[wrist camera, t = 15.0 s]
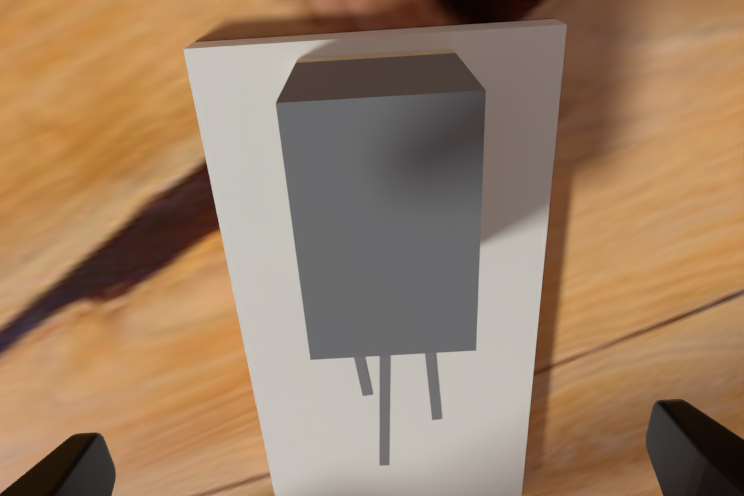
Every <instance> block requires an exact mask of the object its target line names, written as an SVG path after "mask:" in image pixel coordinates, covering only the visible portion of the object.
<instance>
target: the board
mask: <svg viewBox="0 0 744 496" xmlns="http://www.w3.org/2000/svg"><path fill="white" fill-rule="evenodd" d="M566 31H567V24H565V23H563V22H561V21H558V20H556V19H545V20H530V21H514V22H498V23H483V24H467V25H452V26H436V27H421V28H405V29H390V30H374V31H358V32H343V33H327V34H312V35H296V36H281V37H265V38H250V39H234V40H218V41H203V42H193V43H192V44H190V45H189V46H187V47H186V48H184V49H183V50H184V55H185V60H186V64H187V69H188V74H189V79H190V84H191V89H192V94H193V99H194V103H195V108H196V113H197V118H198V123H199V128H200V133H201V138H202V143H203V147H204V152H205V157H206V162H207V167H208V172H209V177H210V182H211V186H212V191H213V196H214V201H215V206H216V211H217V216H218V221H219V225H220V230H221V235H222V240H223V245H224V250H225V255H226V260H227V264H228V269H229V274H230V279H231V284H232V289H233V294H234V299H235V303H236V308H237V313H238V318H239V323H240V328H241V333H242V338H243V343H244V347H245V352H246V357H247V362H248V367H249V372H250V377H251V382H252V386H253V391H254V396H255V401H256V406H257V411H258V416H259V421H260V425H261V430H262V435H263V440H264V445H265V450H266V455H267V460H268V464H269V469H270V474H271V479H272V484H273V489H274V494H275V496H522V486H523V476H524V466H525V455H526V445H527V435H528V424H529V414H530V404H531V393H532V383H533V373H534V362H535V352H536V341H537V331H538V321H539V310H540V300H541V290H542V279H543V269H544V259H545V248H546V238H547V228H548V217H549V207H550V196H551V186H552V176H553V165H554V155H555V145H556V134H557V124H558V114H559V103H560V93H561V82H562V72H563V62H564V51H565V41H566ZM448 49H453V50H454V51H455V53H456V54H457V55H458V56H459V58H460V59H461V60H462V61H463V63H464V64H465V65H466V66H467V68H468V69H469V70H470V71H471V73H472V74H473V75H474V76H475V78H476V79H477V80H478V81H479V83H480V84H481V85H482V86H483V88H484V89H485V90H486V99H485V126H484V153H483V180H482V206H481V233H480V260H479V287H478V313H477V340H476V351H459V352H441V353H423V354H406V355H388V356H370V357H352V358H334V359H316V360H310V353H309V345H308V338H307V331H306V323H305V316H304V309H303V301H302V294H301V287H300V279H299V272H298V264H297V257H296V250H295V242H294V235H293V228H292V220H291V213H290V206H289V198H288V191H287V183H286V176H285V169H284V161H283V154H282V147H281V139H280V132H279V125H278V117H277V110H276V101H277V99H278V97H279V95H280V93H281V91H282V89H283V87H284V85H285V83H286V81H287V79H288V77H289V75H290V73H291V71H292V69H293V67H294V65H295V63H296V61H297V59H302V58H318V57H334V56H350V55H367V54H383V53H399V52H415V51H432V50H448Z"/></svg>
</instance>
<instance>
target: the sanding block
mask: <svg viewBox="0 0 744 496" xmlns="http://www.w3.org/2000/svg"><path fill="white" fill-rule="evenodd" d="M485 99H486V90H485V89H484V88H483V86H482V85H481V84H480V83H479V81H478V80H477V79H476V78H475V76H474V75H473V74H472V73H471V71H470V70H469V69H468V68H467V66H466V65H465V64H464V63H463V61H462V60H461V59H460V58H459V56H458V55H457V54H456V53H455V51H454V50H453V49H448V50H432V51H415V52H399V53H383V54H367V55H350V56H334V57H318V58H302V59H297V61H296V63H295V65H294V67H293V69H292V71H291V73H290V75H289V77H288V79H287V81H286V83H285V85H284V87H283V89H282V91H281V93H280V95H279V97H278V99H277V101H276V110H277V117H278V125H279V132H280V139H281V147H282V154H283V161H284V169H285V176H286V183H287V191H288V198H289V206H290V213H291V220H292V228H293V235H294V242H295V250H296V257H297V264H298V272H299V279H300V287H301V294H302V301H303V309H304V316H305V323H306V331H307V338H308V345H309V353H310V360H316V359H334V358H352V357H370V356H388V355H406V354H423V353H441V352H459V351H476V340H477V313H478V287H479V260H480V233H481V206H482V180H483V153H484V126H485Z"/></svg>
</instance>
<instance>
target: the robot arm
mask: <svg viewBox="0 0 744 496" xmlns="http://www.w3.org/2000/svg"><path fill="white" fill-rule="evenodd" d="M646 447H647V451H648V454H649V457H650V460H651V462H652V465H653V468H654V471H655V473H656V476H657V479H658V482H659V484H660V487H661V490H662V493H663V495H664V496H744V439H742V438H741V437H739V436H738V435H736V434H735V433H733V432H732V431H730V430H729V429H727V428H726V427H724V426H723V425H721V424H720V423H718V422H716V421H715V420H713V419H712V418H710V417H709V416H707V415H706V414H704V413H703V412H701V411H700V410H698V409H697V408H695V407H694V406H692V405H691V404H689V403H688V402H686V401H684V400H681V399H672V400H659V401H656V402H655V404H654V405H653V408H652V412H651V417H650V421H649V425H648V430H647V434H646ZM115 477H116V472H115V466H114V463H113V461H112V458H111V455H110V453H109V450H108V448H107V445H106V442H105V440H104V438H103V436H102V435H101V434H99V433H80V434H75V435H72V436H71V437H69V438H68V439H67V440H66V441H64V442H63V443H62V444H61V445H59V446H58V447H57V448H56V449H55V450H53V451H52V452H51V453H50V454H48V455H47V456H46V457H45V458H44V459H42V460H41V461H40V462H39V463H37V464H36V465H35V466H34V467H32V468H31V469H30V470H29V471H28V472H26V473H25V474H24V475H23V476H21V477H20V478H19V479H18V480H17V481H15V482H14V483H13V484H12V485H10V486H9V487H8V488H7V489H6V490H4V491H3V492H2V493H1V494H0V496H111V495H112V491H113V487H114V483H115Z"/></svg>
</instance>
